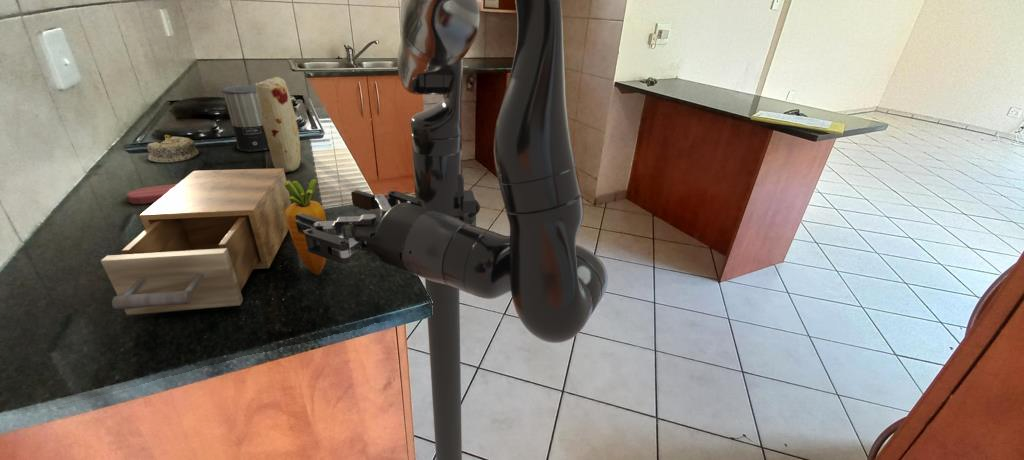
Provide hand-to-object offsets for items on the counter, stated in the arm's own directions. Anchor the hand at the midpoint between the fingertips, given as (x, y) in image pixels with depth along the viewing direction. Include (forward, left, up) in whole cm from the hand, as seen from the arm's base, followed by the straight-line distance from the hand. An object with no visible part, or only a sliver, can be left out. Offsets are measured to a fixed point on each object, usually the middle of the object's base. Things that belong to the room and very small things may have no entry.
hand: (327, 208), depth 54 cm
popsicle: (+35, -35, -12) cm, 51 cm away
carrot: (+4, -3, -12) cm, 13 cm away
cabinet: (+18, -14, -12) cm, 26 cm away
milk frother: (+29, -70, -12) cm, 77 cm away
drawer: (+18, -1, -11) cm, 21 cm away
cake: (+46, -60, -12) cm, 76 cm away
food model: (+18, -49, -12) cm, 54 cm away
